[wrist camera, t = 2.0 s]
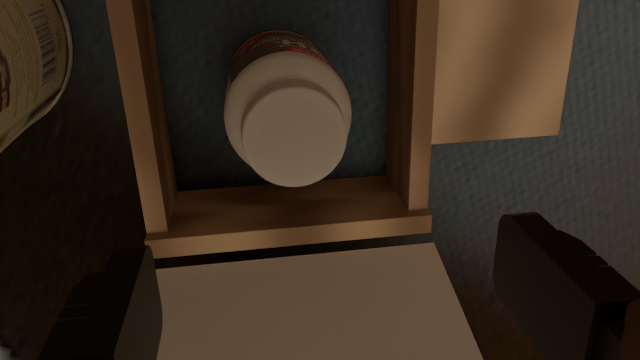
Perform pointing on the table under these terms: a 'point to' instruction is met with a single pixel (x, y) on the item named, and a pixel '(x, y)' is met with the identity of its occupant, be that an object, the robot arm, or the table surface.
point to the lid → (316, 308)
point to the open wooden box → (271, 199)
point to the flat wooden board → (501, 68)
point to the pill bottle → (286, 109)
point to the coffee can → (31, 62)
